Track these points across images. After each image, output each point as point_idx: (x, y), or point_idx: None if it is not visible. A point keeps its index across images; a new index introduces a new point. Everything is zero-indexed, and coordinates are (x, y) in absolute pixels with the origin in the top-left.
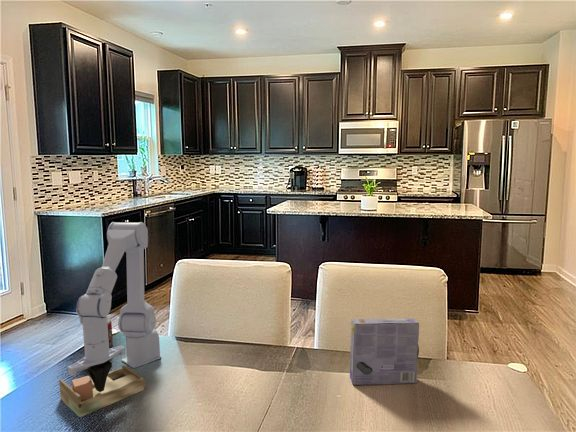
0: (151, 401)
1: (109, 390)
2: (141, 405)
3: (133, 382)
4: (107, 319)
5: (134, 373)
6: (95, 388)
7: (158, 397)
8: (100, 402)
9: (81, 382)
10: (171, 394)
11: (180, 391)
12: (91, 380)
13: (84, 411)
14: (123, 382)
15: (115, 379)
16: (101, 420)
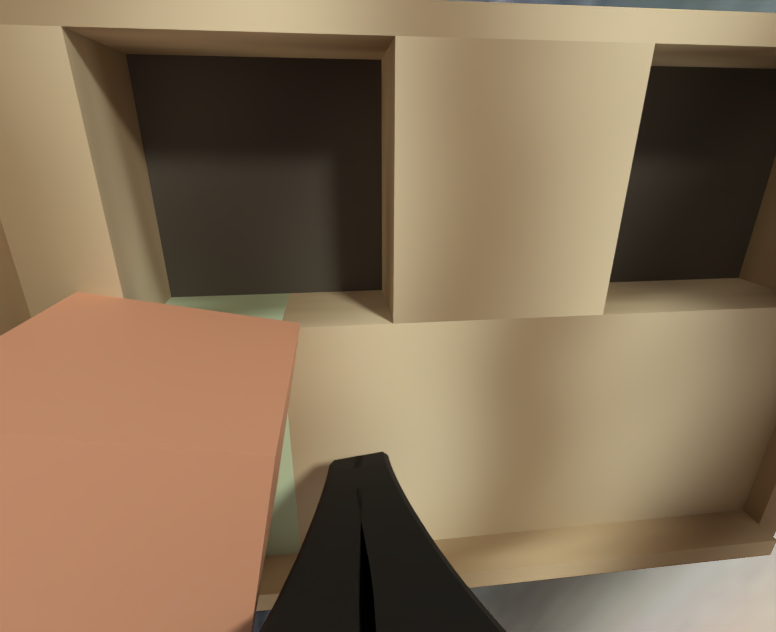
0: (596, 608)
1: (454, 479)
2: (530, 612)
3: (667, 562)
4: None
5: None
6: (327, 475)
7: (652, 595)
8: None
9: (69, 615)
10: (717, 609)
11: (768, 611)
12: (428, 62)
13: None
14: (636, 425)
15: (686, 100)
16: (259, 618)
